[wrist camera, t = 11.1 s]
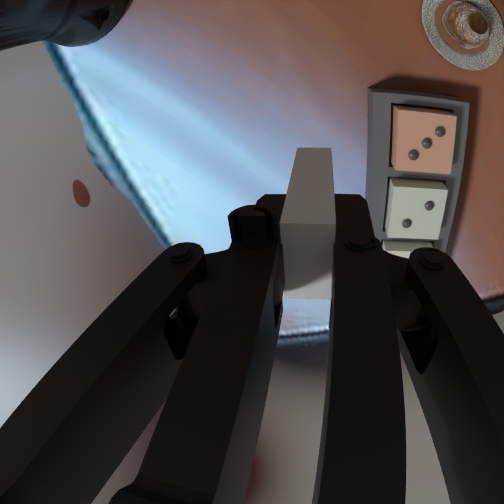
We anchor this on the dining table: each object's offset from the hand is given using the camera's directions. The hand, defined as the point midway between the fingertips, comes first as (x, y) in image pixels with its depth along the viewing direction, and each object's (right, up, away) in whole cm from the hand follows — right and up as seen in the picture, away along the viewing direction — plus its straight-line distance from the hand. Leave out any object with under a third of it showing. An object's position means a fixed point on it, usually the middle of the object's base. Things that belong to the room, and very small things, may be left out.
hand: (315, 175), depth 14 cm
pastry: (+23, +24, +11) cm, 35 cm away
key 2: (+18, +3, +24) cm, 30 cm away
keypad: (+18, +5, +26) cm, 32 cm away
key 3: (+17, +11, +19) cm, 27 cm away
